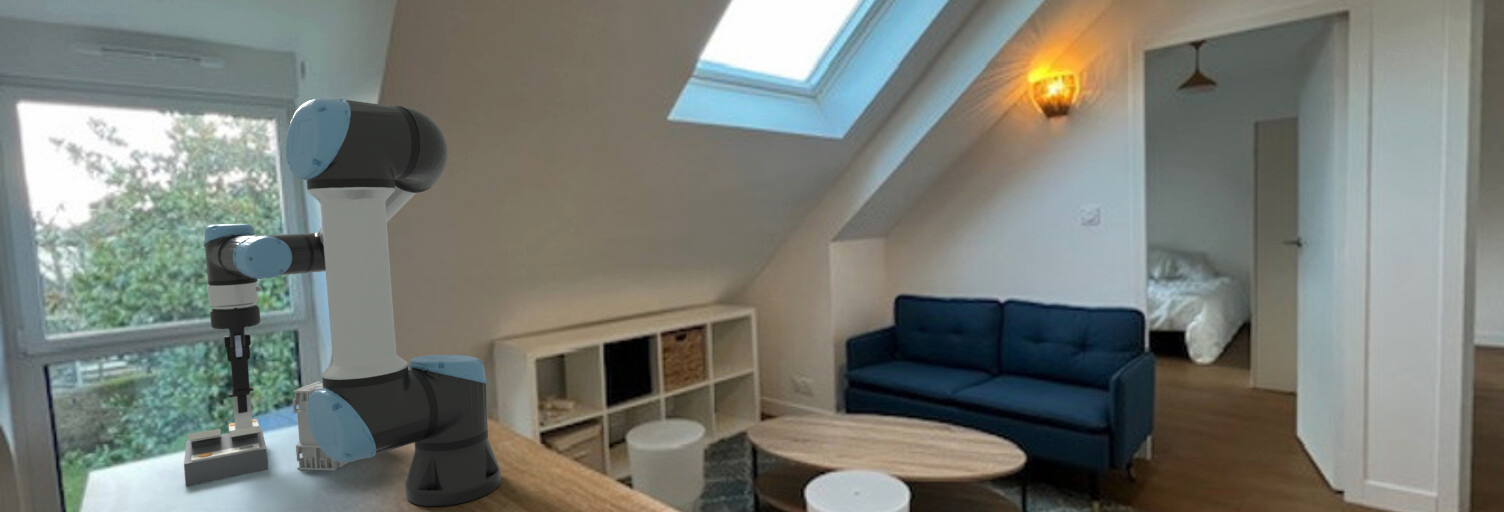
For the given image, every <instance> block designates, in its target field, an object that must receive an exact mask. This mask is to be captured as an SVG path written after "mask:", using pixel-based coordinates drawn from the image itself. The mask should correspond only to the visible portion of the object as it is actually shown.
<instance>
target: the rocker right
mask: <svg viewBox="0 0 1504 512" xmlns="http://www.w3.org/2000/svg"><path fill="white" fill-rule="evenodd" d="M252 424H253V427H248V428H242V429H236V430H235V422H231V423H229V424H228V431H229V432H228V433H229V434H230V437H235V436H241V435H246V434H252V433H258V432H260V430H259V428H260V425H259V421H258V419H257V418H254V419H252Z"/></svg>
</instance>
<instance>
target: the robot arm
mask: <svg viewBox="0 0 1504 512" xmlns="http://www.w3.org/2000/svg"><path fill="white" fill-rule="evenodd" d="M285 138H286V140H285V158H286V163H287V164H288V165H289V170H290V172H291V173H292V175H294V176H295V177H297V178H299V179H300V180H304V181H306V191H307V193H308V194H309V195H310V196H312V197H313V198H315V200H316V201H318V203H319V204H320V205H319V206H320V214H321V215H320V216H321V228H320V229H319V230H318V231H317V232H308V233H307V232H306V233H291V234H290V233H287V234H286V233H285V234H283V233H282V234H265V235H255V232H254V231H255V230H254V227H253V226H252V225H251V224H249V223H226V224H224V223H223V224H210V225H207V226H206V227H205V229H204V242H203V247H204V251H205V252H204V253H205V261H206V262H205V263H206V275H207V294H208V295H207V296H208V305H209V306H210V307H211V309H210V310H209V316H210V325H211V328H212V329H215V330H228V331H229V333H228V334H229V335H224V336H223V341H224V347H225V348H226V357H227V361H229V362H230V368H231V369H230V371H231V380H232V381H231V382H232V383H231V388H232V389H231V391H232V393H231V392H230V393H228V398H232V406H233V418H234V419H233V420H234V423H235V430H236V429H242V428H248V427H253V424H252V420H253V413H252V400H251V398H252V397H251V396H252V395H251V392H253V391H254V390H255V389H254V387H253V386H250V377H249V376H250V375H249V361H248V360H249V359H250V358H251V352H250V346H251V344H252V342H251V341H252V340H251V335H250V333H245V328H249V327H255V326H257V325H259V324H260V323H261V314H260V313H261V312H260V306H259V305H258V304H256V303H258V302H259V293H258V292H261V291H262V290H263V288H262V286H261V285H258V281H259V280H263V279H272V278H273V279H274V278H276V277H279V276H287V275H297V274H306V273H307V274H309V273H318V272H319V273H321V272H325V277H326V278H325V280H326V288H327V289H326V291H327V292H326V293H327V303H328V315H329V328H330V329H329V331H330V342H331V354H332V362H331V363H330V365H329V366H328V367H326V369H325V370H324V371H323V372H322V373H321V380H322V381H323V388H320V389H317V390H316V391H315V392H313V393H312V394H311V395H310V397H309V399H308V400H309V402H308V403H307V416H308V421H309V425H310V428H311V431H312V434H313V436H314V438H315V440H316V442H317V443H318V445H319V446H320V448H321V449H322V450H323V452H324V453H325V454H326V455H328V456H329V457H330V458H332V459H333V460H335V461H338V462H343V463H347V462H349V463H351V462H355V461H359V460H363V459H371V458H373V457H375V456H377V455H380V454H383V453H385V452H386V453H387V452H390V451H392V450H395V449H399V448H401V447H404V446H408V445H411V444H414V453H413V456H412V460H411V462H410V467H409V469H408V472H407V473H408V474H407V477H406V480H405V498H406V500H407V501H408V502H410V503H411V504H415V505H418V506H421V507H422V506H423V507H443V506H452V505H457V504H458V505H459V504H464V503H467V502H471V501H474V500H477V499H479V498H482V497H484V496H486V495H488V494H490V493H492V492H493V491H495V490H496V489H497V488H499V486H500V484H501V483H502V477H501V476H502V475H501V474H502V473H501V467H500V465H499V464H500V463H499V462H498V459H497V457H496V455H495V451H494V450H493V447H492V445H491V443H490V439H489V428H488V427H489V426H488V408H487V407H488V406H487V405H488V403H487V389H486V388H487V384H488V383H487V382H488V381H487V377H486V372H485V365H484V363H483V362H482V360H481V359H479V358H478V357H474V356H470V355H461V354H460V355H459V354H429V355H421V356H420V355H418V356H415V357H413V358H411V359H410V363H409V364H408V362H407V361H406V360H405V359H403V358H402V357H401V356H399V355H398V354H397V344H396V329H395V318H394V306H393V288H392V275H391V265H390V264H391V262H390V249H389V234H388V225H387V224H388V222H389V221H390V220H391V219H392V218H393V217H394V216H395V215H396V214H397V213H398V212H399V211H400V210H401V209H402V208H403V207H404V206H405V205H406V204H407V203H408V202H409V201H410V200H411V199H412V198H413V197H414V196H415V195H416V194H423V193H425V192H427V191H429V189H431V188H432V187H433V186H434V185H435V184H436V183H437V181H438V180H439V179H440V178H441V176H442V175H443V173H444V172H445V170H446V168H447V164H448V159H449V148H448V142H447V139H446V136H445V134H444V133H443V131H442V129H441V127H440V126H439V125H438V123H437V122H436V121H435V120H434V119H432V118H431V117H430V116H428V115H427V114H425V113H424V112H422V111H420V110H418V109H415V108H413V107H412V108H411V107H407V106H402V105H401V106H400V105H397V106H396V105H388V104H380V103H371V102H363V101H357V100H348V99H344V98H340V99H336V98H335V99H333V98H332V99H331V98H314V99H310V100H308V101H306V102H304V103H303V104H301V105H300V106H299V107H298V108H297V110H296V111H295V112H294V114H293V116H292V118H291V119H290V123H289V126H288V129H287V132H286V137H285ZM212 307H213V308H212ZM409 368H410V369H409ZM347 464H348V463H347Z"/></svg>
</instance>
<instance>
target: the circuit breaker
mask: <svg viewBox="0 0 1504 512" xmlns="http://www.w3.org/2000/svg"><path fill="white" fill-rule="evenodd" d="M320 388H323V381H322V379H321V380H319V381H316V382H312V383H310V384H308V385H304V386H301V387H299V388H297V389H294V390H293V391H292V393H293V394H294V398H292V408H293V414H297V426H298V441H299V442H298V443H297V444H296V445H295V451H296V452H295V453H296V462H298V464H299V465H298V466H297V468H296V469H297V470H299V469H300V470H303V471H305V470H306V471H307V470H308V471H309V470H310V471H336V470H337V469H338V467H339V468H342V467H344V466H345V464H346V465H347V464H349V463H348V462H347V463H343V462H338V461H335V460H333V459H332V458H330V457H329V456H328V455H326V454H325V453H324V452H323V450H322V449H321V448H320V446H319V445H318V443H317V442H316V440H315V438H314V436H313V434H312V431H311V428H310V425H309V421H308V416H307V403H308V402H309V400H308V399H309V397H310V395H311V394H312V393H313V392H315V391H316V390H317V389H320ZM297 406H298V408H297ZM343 465H344V466H343ZM341 466H342V467H341Z"/></svg>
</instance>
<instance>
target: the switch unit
mask: <svg viewBox="0 0 1504 512" xmlns="http://www.w3.org/2000/svg"><path fill="white" fill-rule="evenodd" d="M259 430H260V432H258V433H252V434H246V435H241V436H235V437H230V434H229V432H228V433H222V434H221V436H217V437H211V438H206V439H200V440H194V441H189V440H188V439H187V440H186V442H185V452H184V458H183V470H184V481H185V487H187V486H194V485H197V484H202V483H207V482H213V481H218V480H222V479H227V478H232V477H233V478H234V477H237V476H238V477H239V476H242V475H246V474H252V473H256V472H262V471H267V470H269V467H268V466H269V465H268V453H267V450H268V449H267V445H266V441H265V440H266V439H265V437H264V433H263V432H264V431H263V428H262V427H259Z"/></svg>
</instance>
